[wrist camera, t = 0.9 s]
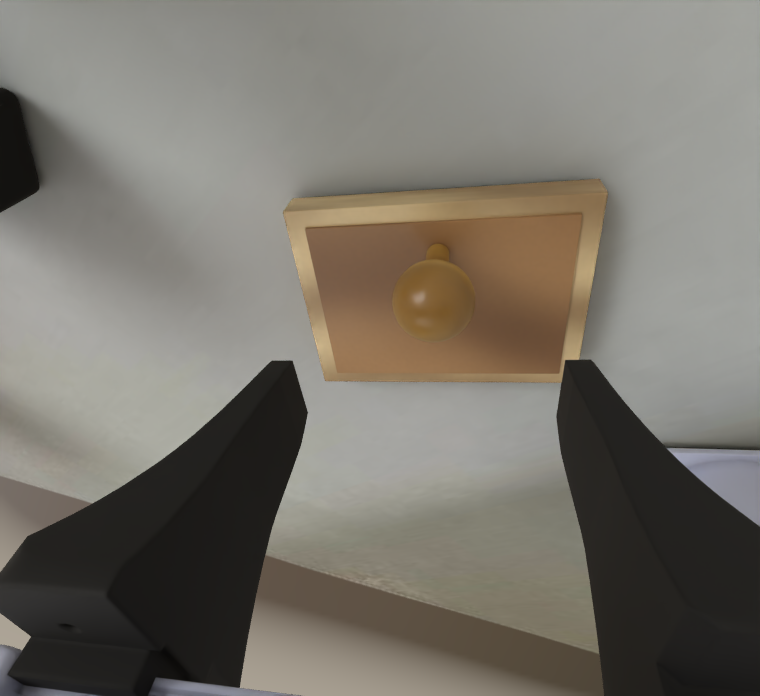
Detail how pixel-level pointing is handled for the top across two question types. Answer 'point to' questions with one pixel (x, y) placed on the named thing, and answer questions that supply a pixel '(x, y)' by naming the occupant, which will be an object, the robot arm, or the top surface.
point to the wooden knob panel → (449, 280)
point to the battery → (14, 154)
